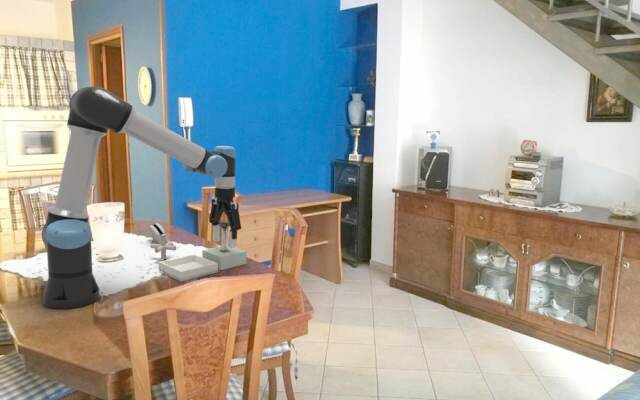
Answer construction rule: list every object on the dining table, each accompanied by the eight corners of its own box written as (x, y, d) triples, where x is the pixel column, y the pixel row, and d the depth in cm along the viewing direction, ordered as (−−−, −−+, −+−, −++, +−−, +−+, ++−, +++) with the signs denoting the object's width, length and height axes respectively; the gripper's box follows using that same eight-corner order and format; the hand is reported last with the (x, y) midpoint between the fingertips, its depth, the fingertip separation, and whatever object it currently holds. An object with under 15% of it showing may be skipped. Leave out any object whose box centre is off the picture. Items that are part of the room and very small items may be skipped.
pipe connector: (168, 264, 179) (168, 238, 178) (144, 261, 181) (144, 236, 180) (181, 257, 189) (181, 233, 187) (158, 254, 191) (158, 230, 189)
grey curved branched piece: (174, 247, 203) (166, 226, 200) (164, 252, 201) (155, 231, 197) (164, 238, 217) (156, 218, 213) (154, 242, 215) (146, 223, 211)
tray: (181, 281, 162) (181, 271, 161) (158, 271, 171) (158, 261, 171) (217, 272, 173) (217, 263, 172) (194, 263, 182) (194, 254, 182)
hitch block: (220, 270, 175) (220, 257, 175) (202, 262, 183) (202, 250, 182) (246, 263, 184) (246, 251, 183) (227, 257, 192) (227, 245, 191)
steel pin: (223, 265, 181) (223, 224, 178) (217, 263, 184) (217, 222, 181) (231, 263, 184) (232, 222, 181) (225, 261, 186) (225, 221, 184)
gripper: (251, 190, 174) (250, 248, 178) (215, 182, 189) (215, 237, 193) (235, 191, 169) (234, 252, 172) (199, 184, 183) (199, 240, 187)
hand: (224, 244), depth 182 cm, fingers open, 10 cm apart
